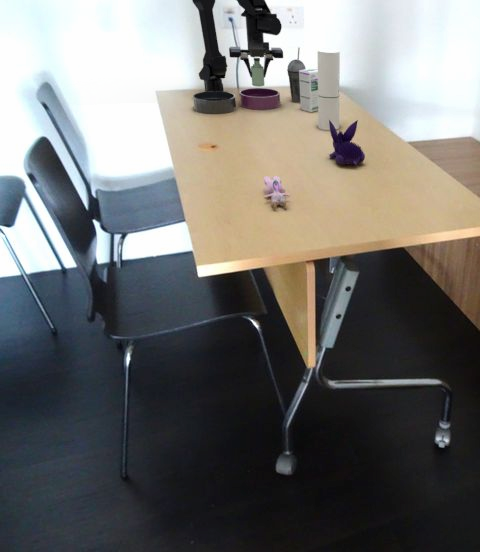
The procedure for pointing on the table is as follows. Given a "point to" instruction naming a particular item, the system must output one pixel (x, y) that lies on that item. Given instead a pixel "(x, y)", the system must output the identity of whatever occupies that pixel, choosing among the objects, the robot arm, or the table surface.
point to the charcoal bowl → (214, 102)
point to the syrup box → (309, 89)
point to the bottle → (257, 73)
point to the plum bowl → (259, 98)
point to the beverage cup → (295, 78)
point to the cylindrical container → (328, 88)
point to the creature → (346, 146)
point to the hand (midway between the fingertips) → (257, 77)
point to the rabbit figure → (275, 191)
